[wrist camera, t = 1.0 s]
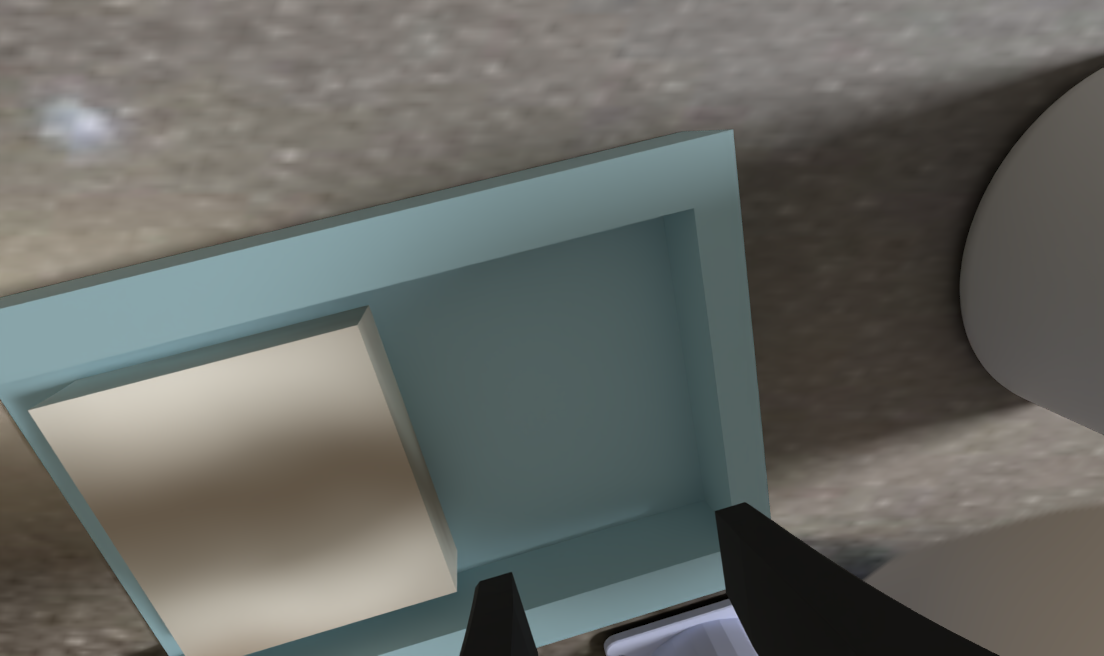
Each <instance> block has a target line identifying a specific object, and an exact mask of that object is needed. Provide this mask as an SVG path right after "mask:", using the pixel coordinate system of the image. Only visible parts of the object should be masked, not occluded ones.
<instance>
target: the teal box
mask: <svg viewBox="0 0 1104 656" xmlns="http://www.w3.org/2000/svg"><path fill="white" fill-rule="evenodd" d="M367 305H369V307H370V310H371V312H372V315H373V318H374V321H375V324H376V326H377V329H378V332H379V335H380V337H381V340H382V343H383V346H384V349H385V351H386V354H387V357H388V360H389V362H390V365H391V368H392V371H393V374H394V376H395V379H396V382H397V385H398V387H399V390H400V393H401V396H402V399H403V401H404V404H405V407H406V410H407V413H408V415H409V418H410V421H411V424H412V426H413V429H414V432H415V435H416V438H417V440H418V443H419V446H420V449H421V451H422V454H423V457H424V460H425V463H426V465H427V468H428V471H429V474H430V476H431V479H432V482H433V485H434V488H435V490H436V493H437V496H438V499H439V501H440V504H441V507H442V510H443V513H444V515H445V518H446V521H447V524H448V526H449V529H450V532H451V535H452V538H453V540H454V543H455V546H456V549H457V592H454V593H451V594H448V595H444V596H441V597H438V598H434V599H431V600H428V601H424V602H421V603H418V604H414V605H411V606H408V607H404V608H401V609H398V610H394V611H391V612H388V613H384V614H381V615H378V616H374V617H371V618H368V619H364V620H361V621H358V622H354V623H351V624H347V625H344V626H341V627H337V628H334V629H331V630H327V631H324V632H321V633H317V634H314V635H311V636H307V637H304V638H301V639H297V640H294V641H291V642H287V643H284V644H281V645H277V646H274V647H271V648H267V649H264V650H261V651H257V652H254V653H250V654H247V655H244V656H459V655H460V651H461V647H462V643H463V640H464V636H465V632H466V628H467V624H468V620H469V616H470V611H471V607H472V602H473V597H474V591H475V587H476V586H477V584H478V583H479V581H482V580H485V579H489V578H492V577H496V576H499V575H502V574H506V573H509V572H512V573H513V577H514V580H515V583H516V586H517V589H518V592H519V595H520V598H521V602H522V605H523V608H524V611H525V614H526V617H527V620H528V623H529V627H530V630H531V633H532V636H533V639H534V642H535V645H536V648H538V647H541V646H544V645H547V644H550V643H554V642H557V641H560V640H563V639H567V638H570V637H573V636H576V635H579V634H583V633H586V632H589V631H592V630H596V629H599V628H602V627H605V626H608V625H612V624H615V623H618V622H621V621H625V620H628V619H631V618H634V617H637V616H641V615H644V614H647V613H650V612H654V611H657V610H660V609H663V608H666V607H670V606H673V605H676V604H679V603H683V602H686V601H689V600H692V599H696V598H699V597H702V596H705V595H708V594H712V593H715V592H718V591H721V590H725V589H726V588H725V581H724V574H723V567H722V560H721V553H720V546H719V539H718V532H717V525H716V518H715V511H717V510H720V509H723V508H727V507H730V506H733V505H737V504H740V503H743V502H746V503H748V504H749V505H751V506H753V507H754V508H755V509H757V510H758V511H760V512H761V513H762V514H764V515H765V516H767V517H768V518H770V519H771V516H770V505H769V495H768V485H767V474H766V464H765V454H764V443H763V433H762V423H761V412H760V402H759V392H758V381H757V371H756V361H755V351H754V340H753V330H752V320H751V309H750V299H749V289H748V278H747V268H746V258H745V247H744V237H743V227H742V216H741V206H740V196H739V185H738V175H737V165H736V155H735V144H734V134H733V129H732V130H708V131H684V132H678V133H674V134H670V135H666V136H662V137H658V138H654V139H650V140H646V141H641V142H637V143H633V144H629V145H625V146H621V147H617V148H613V149H609V150H604V151H600V152H596V153H592V154H588V155H584V156H580V157H576V158H572V159H567V160H563V161H559V162H555V163H551V164H547V165H543V166H539V167H535V168H531V169H526V170H522V171H518V172H514V173H510V174H506V175H502V176H498V177H494V178H489V179H485V180H481V181H477V182H473V183H469V184H465V185H461V186H457V187H452V188H448V189H444V190H440V191H436V192H432V193H428V194H424V195H420V196H415V197H411V198H407V199H403V200H399V201H395V202H391V203H387V204H383V205H378V206H374V207H370V208H366V209H362V210H358V211H354V212H350V213H346V214H342V215H337V216H333V217H329V218H325V219H321V220H317V221H313V222H309V223H305V224H300V225H296V226H292V227H288V228H284V229H280V230H276V231H272V232H268V233H263V234H259V235H255V236H251V237H247V238H243V239H239V240H235V241H231V242H226V243H222V244H218V245H214V246H210V247H206V248H202V249H198V250H194V251H190V252H185V253H181V254H177V255H173V256H169V257H165V258H161V259H157V260H153V261H148V262H144V263H140V264H136V265H132V266H128V267H124V268H120V269H116V270H111V271H107V272H103V273H99V274H95V275H91V276H87V277H83V278H79V279H74V280H70V281H66V282H62V283H58V284H54V285H50V286H46V287H42V288H38V289H33V290H29V291H25V292H21V293H17V294H13V295H9V296H5V297H1V298H0V400H1V401H2V403H3V404H4V406H5V407H6V409H7V410H8V412H9V413H10V415H11V416H12V418H13V419H14V421H15V422H16V424H17V425H18V427H19V428H20V430H21V432H22V433H23V435H24V436H25V438H26V439H27V441H28V442H29V444H30V445H31V447H32V448H33V450H34V451H35V453H36V454H37V456H38V457H39V459H40V460H41V462H42V463H43V465H44V467H45V468H46V470H47V471H48V473H49V474H50V476H51V477H52V479H53V480H54V482H55V483H56V485H57V486H58V488H59V489H60V491H61V492H62V494H63V495H64V497H65V499H66V500H67V502H68V503H69V505H70V506H71V508H72V509H73V511H74V512H75V514H76V515H77V517H78V518H79V520H80V521H81V523H82V524H83V526H84V527H85V529H86V531H87V532H88V534H89V535H90V537H91V538H92V540H93V541H94V543H95V544H96V546H97V547H98V549H99V550H100V552H101V553H102V555H103V556H104V558H105V559H106V561H107V562H108V564H109V566H110V567H111V569H112V570H113V572H114V573H115V575H116V576H117V578H118V579H119V581H120V582H121V584H122V585H123V587H124V588H125V590H126V591H127V593H128V594H129V596H130V598H131V599H132V601H133V602H134V604H135V605H136V607H137V608H138V610H139V611H140V613H141V614H142V616H143V617H144V619H145V620H146V622H147V623H148V625H149V626H150V628H151V630H152V631H153V633H154V634H155V636H156V637H157V639H158V640H159V642H160V643H161V645H162V646H163V648H164V649H165V651H166V652H167V654H168V655H169V656H185V655H184V653H183V652H182V650H181V648H180V647H179V645H178V644H177V642H176V641H175V639H174V638H173V636H172V634H171V633H170V631H169V630H168V628H167V627H166V625H165V623H164V622H163V620H162V619H161V617H160V616H159V614H158V613H157V611H156V609H155V608H154V606H153V605H152V603H151V602H150V600H149V599H148V597H147V595H146V594H145V592H144V591H143V589H142V588H141V586H140V585H139V583H138V581H137V580H136V578H135V577H134V575H133V574H132V572H131V571H130V569H129V567H128V566H127V564H126V563H125V561H124V560H123V558H122V556H121V555H120V553H119V552H118V550H117V549H116V547H115V546H114V544H113V542H112V541H111V539H110V538H109V536H108V535H107V533H106V532H105V530H104V528H103V527H102V525H101V524H100V522H99V521H98V519H97V518H96V516H95V514H94V513H93V511H92V510H91V508H90V507H89V505H88V503H87V502H86V500H85V499H84V497H83V496H82V494H81V493H80V491H79V489H78V488H77V486H76V485H75V483H74V482H73V480H72V479H71V477H70V475H69V474H68V472H67V471H66V469H65V468H64V466H63V465H62V463H61V461H60V460H59V458H58V457H57V455H56V454H55V452H54V450H53V449H52V447H51V446H50V444H49V443H48V441H47V440H46V438H45V436H44V435H43V433H42V432H41V430H40V429H39V427H38V426H37V424H36V422H35V421H34V419H33V418H32V416H31V415H30V413H29V412H28V410H29V409H31V408H33V407H34V406H36V405H37V404H39V403H41V402H42V401H44V400H45V399H47V398H49V397H50V396H52V395H53V394H55V393H57V392H58V391H60V390H62V389H63V388H65V387H66V386H68V385H70V384H71V383H73V382H74V381H76V380H78V379H82V378H86V377H90V376H94V375H98V374H102V373H106V372H109V371H113V370H117V369H121V368H125V367H129V366H133V365H137V364H141V363H145V362H148V361H152V360H156V359H160V358H164V357H168V356H172V355H176V354H180V353H184V352H187V351H191V350H195V349H199V348H203V347H207V346H211V345H215V344H219V343H223V342H226V341H230V340H234V339H238V338H242V337H246V336H250V335H254V334H258V333H261V332H265V331H269V330H273V329H277V328H281V327H285V326H289V325H293V324H297V323H300V322H304V321H308V320H312V319H316V318H320V317H324V316H328V315H332V314H336V313H339V312H343V311H347V310H351V309H355V308H359V307H363V306H367Z"/></svg>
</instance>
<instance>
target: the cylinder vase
mask: <svg viewBox="0 0 1104 656" xmlns="http://www.w3.org/2000/svg"><path fill="white" fill-rule="evenodd" d="M960 305H961V313H962V319H963V323H964V327H965V331H966V334H967V337H968V339H969V342H970V344H971V347H972V349H973V351H974V352H975V354H976V356H977V358H978V359H979V361H980V362H981V364H982V365H983V366H984V368H985V369H986V370H987V371H988V372H989V374H990V375H991V376H992V377H993V378H994V379H995V380H997V381H998V382H999V383H1000V384H1001V385H1002V386H1004V387H1005V388H1007V389H1008V390H1010V391H1011V392H1013V393H1014V394H1016V395H1018V396H1020V397H1022V398H1024V399H1026V400H1028V401H1030V402H1032V403H1035V404H1037V405H1039V406H1041V407H1043V408H1046V409H1048V410H1050V411H1052V412H1054V413H1056V414H1059V415H1061V416H1063V417H1065V418H1067V419H1070V420H1072V421H1074V422H1076V423H1078V424H1081V425H1083V426H1085V427H1087V428H1089V429H1091V430H1094V431H1096V432H1098V433H1100V434H1102V435H1104V67H1103V68H1102V69H1100V70H1098V71H1097V72H1095V73H1093V74H1092V75H1090V76H1089V77H1087V78H1085V79H1084V80H1082V81H1081V82H1080V83H1078V84H1077V85H1075V86H1074V87H1073V88H1071V89H1070V90H1069V91H1067V92H1066V93H1065V94H1064V95H1063V96H1061V97H1060V98H1059V99H1058V100H1057V101H1055V102H1054V103H1053V104H1052V105H1051V106H1050V107H1049V108H1048V109H1047V110H1046V111H1044V112H1043V113H1042V114H1041V115H1040V116H1039V117H1038V118H1037V120H1036V121H1035V122H1034V123H1033V124H1032V125H1031V126H1030V127H1029V128H1028V129H1027V131H1026V132H1025V133H1024V134H1023V135H1022V136H1021V138H1020V139H1019V140H1018V141H1017V143H1016V144H1015V145H1014V146H1013V148H1012V149H1011V150H1010V152H1009V153H1008V155H1007V156H1006V157H1005V159H1004V160H1003V162H1002V163H1001V165H1000V166H999V168H998V170H997V171H996V173H995V175H994V176H993V178H992V180H991V182H990V183H989V185H988V187H987V189H986V191H985V193H984V195H983V197H982V199H981V201H980V204H979V206H978V208H977V211H976V213H975V216H974V218H973V221H972V224H971V227H970V230H969V233H968V237H967V240H966V244H965V249H964V253H963V258H962V265H961V273H960Z"/></svg>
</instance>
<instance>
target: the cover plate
mask: <svg viewBox="0 0 1104 656" xmlns="http://www.w3.org/2000/svg"><path fill="white" fill-rule="evenodd" d="M28 412H29V413H30V415H31V416H32V418H33V419H34V421H35V422H36V424H37V426H38V427H39V429H40V430H41V432H42V433H43V435H44V436H45V438H46V440H47V441H48V443H49V444H50V446H51V447H52V449H53V450H54V452H55V454H56V455H57V457H58V458H59V460H60V461H61V463H62V465H63V466H64V468H65V469H66V471H67V472H68V474H69V475H70V477H71V479H72V480H73V482H74V483H75V485H76V486H77V488H78V489H79V491H80V493H81V494H82V496H83V497H84V499H85V500H86V502H87V503H88V505H89V507H90V508H91V510H92V511H93V513H94V514H95V516H96V518H97V519H98V521H99V522H100V524H101V525H102V527H103V528H104V530H105V532H106V533H107V535H108V536H109V538H110V539H111V541H112V542H113V544H114V546H115V547H116V549H117V550H118V552H119V553H120V555H121V556H122V558H123V560H124V561H125V563H126V564H127V566H128V567H129V569H130V571H131V572H132V574H133V575H134V577H135V578H136V580H137V581H138V583H139V585H140V586H141V588H142V589H143V591H144V592H145V594H146V595H147V597H148V599H149V600H150V602H151V603H152V605H153V606H154V608H155V609H156V611H157V613H158V614H159V616H160V617H161V619H162V620H163V622H164V623H165V625H166V627H167V628H168V630H169V631H170V633H171V634H172V636H173V638H174V639H175V641H176V642H177V644H178V645H179V647H180V648H181V650H182V652H183V653H184V655H185V656H244V655H247V654H250V653H254V652H257V651H261V650H264V649H267V648H271V647H274V646H277V645H281V644H284V643H287V642H291V641H294V640H297V639H301V638H304V637H307V636H311V635H314V634H317V633H321V632H324V631H327V630H331V629H334V628H337V627H341V626H344V625H347V624H351V623H354V622H358V621H361V620H364V619H368V618H371V617H374V616H378V615H381V614H384V613H388V612H391V611H394V610H398V609H401V608H404V607H408V606H411V605H414V604H418V603H421V602H424V601H428V600H431V599H434V598H438V597H441V596H444V595H448V594H451V593H454V592H457V549H456V546H455V543H454V540H453V538H452V535H451V532H450V529H449V526H448V524H447V521H446V518H445V515H444V513H443V510H442V507H441V504H440V501H439V499H438V496H437V493H436V490H435V488H434V485H433V482H432V479H431V476H430V474H429V471H428V468H427V465H426V463H425V460H424V457H423V454H422V451H421V449H420V446H419V443H418V440H417V438H416V435H415V432H414V429H413V426H412V424H411V421H410V418H409V415H408V413H407V410H406V407H405V404H404V401H403V399H402V396H401V393H400V390H399V387H398V385H397V382H396V379H395V376H394V374H393V371H392V368H391V365H390V362H389V360H388V357H387V354H386V351H385V349H384V346H383V343H382V340H381V337H380V335H379V332H378V329H377V326H376V324H375V321H374V318H373V315H372V312H371V310H370V307H369V305H367V306H363V307H359V308H355V309H351V310H347V311H343V312H339V313H336V314H332V315H328V316H324V317H320V318H316V319H312V320H308V321H304V322H300V323H297V324H293V325H289V326H285V327H281V328H277V329H273V330H269V331H265V332H261V333H258V334H254V335H250V336H246V337H242V338H238V339H234V340H230V341H226V342H223V343H219V344H215V345H211V346H207V347H203V348H199V349H195V350H191V351H187V352H184V353H180V354H176V355H172V356H168V357H164V358H160V359H156V360H152V361H148V362H145V363H141V364H137V365H133V366H129V367H125V368H121V369H117V370H113V371H109V372H106V373H102V374H98V375H94V376H90V377H86V378H82V379H78V380H76V381H74V382H73V383H71V384H70V385H68V386H66V387H65V388H63V389H62V390H60V391H58V392H57V393H55V394H53V395H52V396H50V397H49V398H47V399H45V400H44V401H42V402H41V403H39V404H37V405H36V406H34V407H33V408H31V409H29V410H28Z"/></svg>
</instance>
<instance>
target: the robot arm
mask: <svg viewBox="0 0 1104 656" xmlns="http://www.w3.org/2000/svg"><path fill="white" fill-rule="evenodd" d="M715 518H716V525H717V532H718V539H719V546H720V553H721V560H722V567H723V574H724V581H725V588H726V593H727V596H728V598H729V599H726V600H723V601H720V602H717V603H713V604H710V605H707V606H704V607H701V608H697V609H694V610H691V611H688V612H685V613H681V614H678V615H675V616H672V617H669V618H665V619H662V620H659V621H656V622H653V623H649V624H646V625H643V626H640V627H636V628H633V629H630V630H627V631H624V632H620V633H617V634H614V635H612V636H610V637H609V638H607V639H606V641H605V643H604V650H605V654H606V656H619V655H620V656H999V655H997V654H995V653H992V652H991V651H989V650H987V649H985V648H983V647H981V646H979V645H977V644H975V643H973V642H971V641H969V640H967V639H965V638H963V637H961V636H959V635H957V634H955V633H953V632H951V631H950V630H947V629H946V628H944V627H942V626H940V625H938V624H937V623H935V622H933V621H931V620H929V619H927V618H926V617H924V616H922V615H920V614H918V613H917V612H915V611H913V610H911V609H910V608H908V607H906V606H904V605H903V604H901V603H899V602H898V601H896V600H894V599H892V598H890V597H889V596H887V595H885V594H884V593H882V592H881V591H879V590H877V589H876V588H874V587H872V586H871V585H869V584H867V583H866V582H864V581H863V580H861V579H859V578H858V577H856V576H855V575H853V574H852V573H850V572H848V571H847V570H845V569H844V568H842V567H841V566H839V565H837V564H836V563H834V562H833V561H831V560H830V559H828V558H826V557H825V556H823V555H822V554H820V553H819V552H817V551H816V550H814V549H813V548H811V547H810V546H808V545H807V544H806V543H804V542H803V541H801V540H800V539H798V538H797V537H795V536H794V535H792V534H791V533H790V532H788V531H787V530H785V529H784V528H782V527H781V526H779V525H778V524H777V523H775V522H774V521H772V520H771V519H770V518H768V517H767V516H765V515H764V514H762V513H761V512H760V511H758V510H757V509H755V508H754V507H753V506H751V505H749V504H748V503H746V502H743V503H740V504H737V505H733V506H730V507H727V508H723V509H720V510H717V511H715ZM459 656H538V652H537V648H536V645H535V642H534V639H533V636H532V633H531V630H530V627H529V623H528V620H527V617H526V614H525V611H524V608H523V605H522V602H521V598H520V595H519V592H518V589H517V586H516V583H515V580H514V577H513V573H512V572H509V573H506V574H502V575H499V576H496V577H492V578H489V579H485V580H482V581H479V583H478V584H477V586H476V587H475V591H474V597H473V602H472V607H471V611H470V616H469V620H468V624H467V628H466V632H465V636H464V640H463V643H462V647H461V651H460V655H459Z"/></svg>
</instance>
